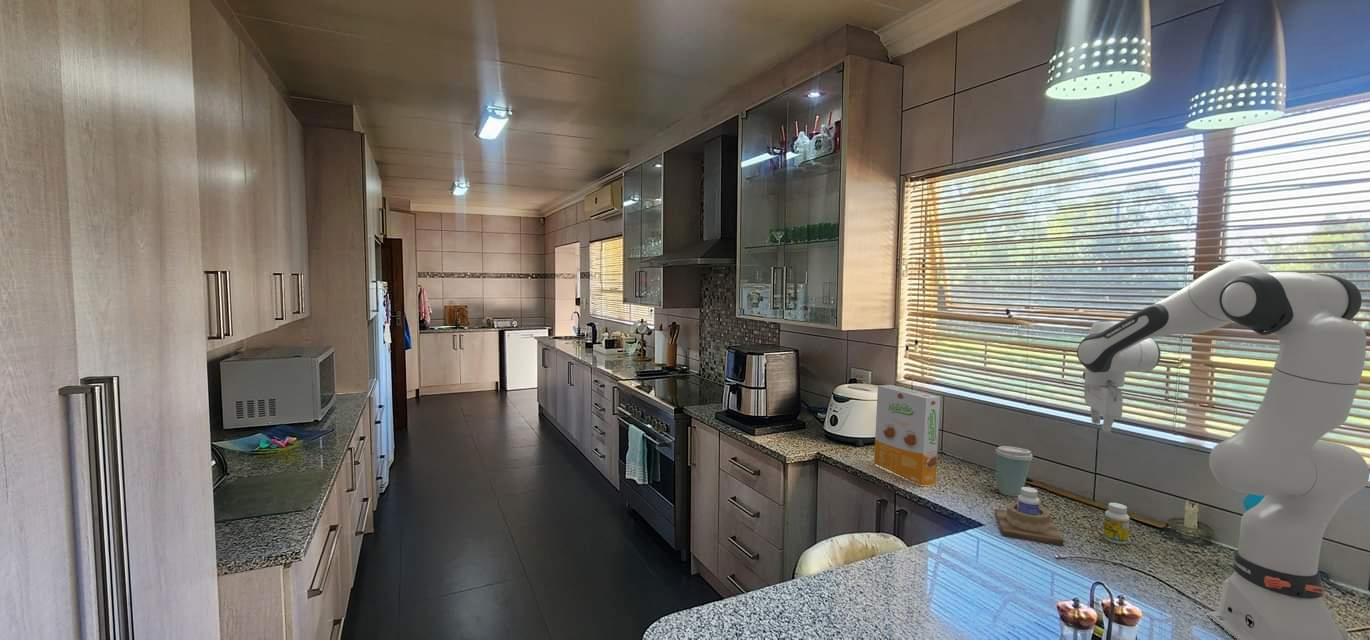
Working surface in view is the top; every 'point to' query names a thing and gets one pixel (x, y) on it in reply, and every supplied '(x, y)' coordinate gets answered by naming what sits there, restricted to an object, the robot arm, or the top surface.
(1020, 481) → the disposable coffee cup
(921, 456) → the cereal box
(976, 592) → the top surface
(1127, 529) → the supplement bottle
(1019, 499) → the pill bottle
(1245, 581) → the robot arm
